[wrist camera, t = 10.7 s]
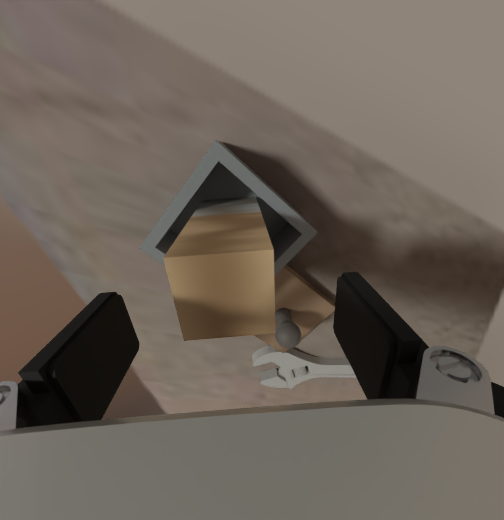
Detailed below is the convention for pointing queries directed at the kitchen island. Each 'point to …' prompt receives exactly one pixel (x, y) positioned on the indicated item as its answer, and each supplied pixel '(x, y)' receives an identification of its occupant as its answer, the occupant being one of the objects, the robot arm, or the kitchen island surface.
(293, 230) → the bin
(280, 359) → the adjustable wrench
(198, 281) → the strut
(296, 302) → the stud plate
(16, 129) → the kitchen island surface
